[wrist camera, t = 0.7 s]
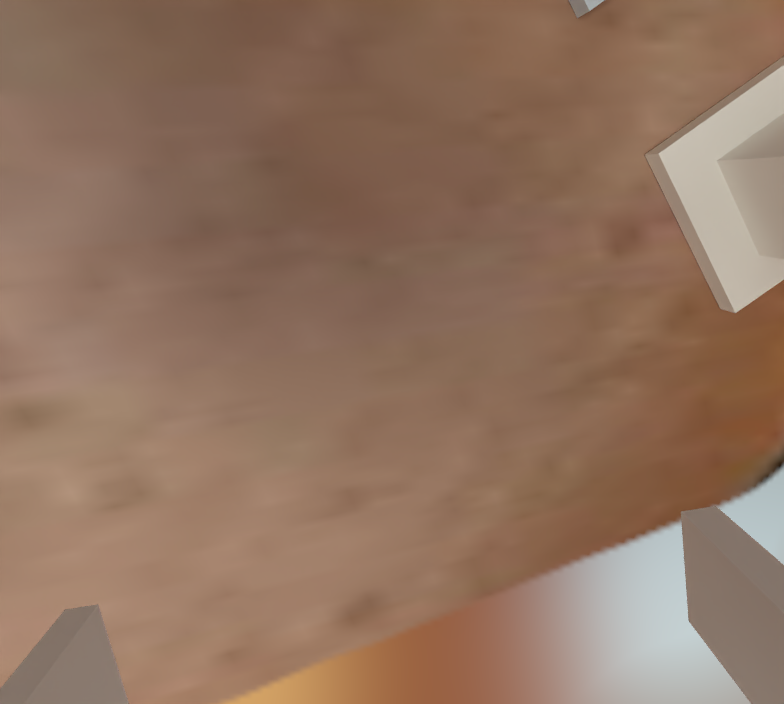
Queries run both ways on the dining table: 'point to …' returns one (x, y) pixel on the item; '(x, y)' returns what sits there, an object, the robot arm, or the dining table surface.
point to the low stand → (583, 6)
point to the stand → (731, 188)
